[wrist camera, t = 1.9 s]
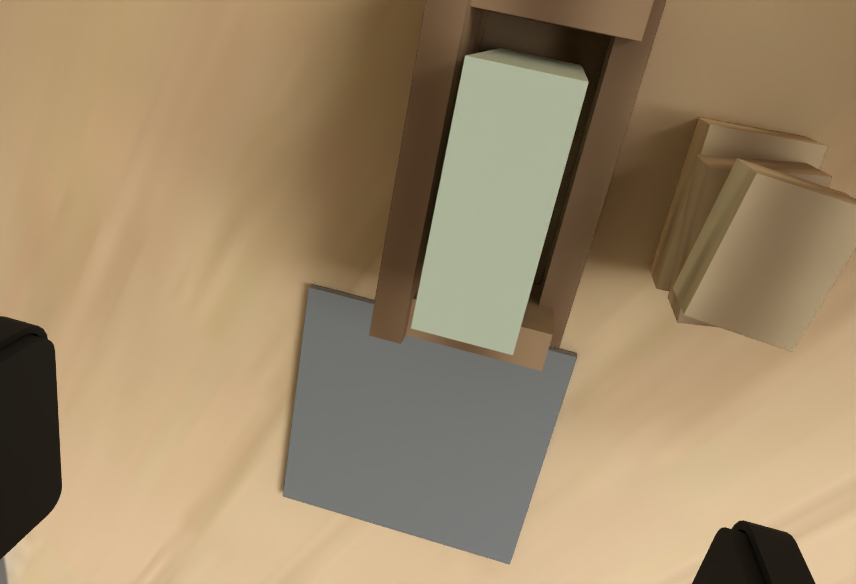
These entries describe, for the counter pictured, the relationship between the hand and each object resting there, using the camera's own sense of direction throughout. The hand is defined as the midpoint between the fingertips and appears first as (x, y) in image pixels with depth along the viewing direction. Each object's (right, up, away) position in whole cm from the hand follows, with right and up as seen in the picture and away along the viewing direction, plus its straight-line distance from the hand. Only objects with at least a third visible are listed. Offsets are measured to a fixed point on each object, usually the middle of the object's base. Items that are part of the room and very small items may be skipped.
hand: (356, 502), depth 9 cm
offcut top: (+15, +5, +18) cm, 24 cm away
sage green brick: (+6, +10, +24) cm, 27 cm away
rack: (+5, +10, +24) cm, 27 cm away
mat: (0, -6, +32) cm, 32 cm away
